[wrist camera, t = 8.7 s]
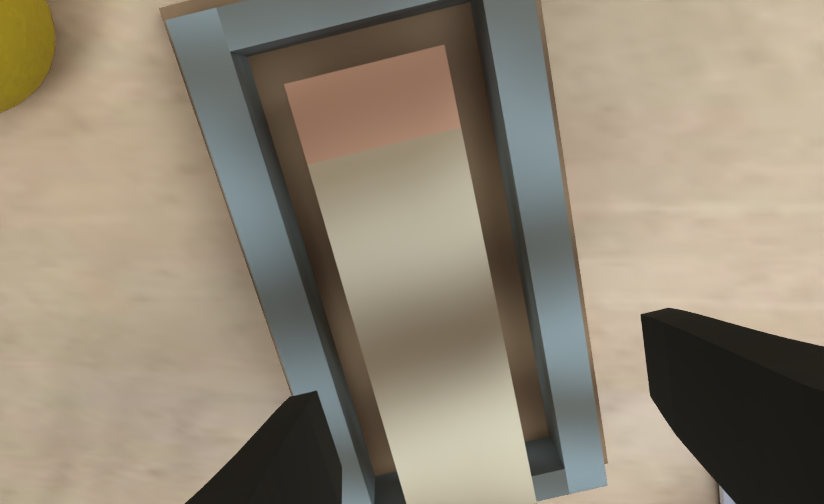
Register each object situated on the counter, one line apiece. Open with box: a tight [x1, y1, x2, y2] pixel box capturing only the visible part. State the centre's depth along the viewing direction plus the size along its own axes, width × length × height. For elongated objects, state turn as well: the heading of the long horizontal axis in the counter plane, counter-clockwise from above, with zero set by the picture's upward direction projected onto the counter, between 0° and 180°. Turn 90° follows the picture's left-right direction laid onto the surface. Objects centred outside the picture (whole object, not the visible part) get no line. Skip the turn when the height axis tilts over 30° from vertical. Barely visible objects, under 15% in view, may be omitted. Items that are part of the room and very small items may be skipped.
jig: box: [159, 0, 608, 504], centre depth 19 cm, size 21×12×3 cm, turn 13°
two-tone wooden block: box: [284, 45, 537, 504], centre depth 17 cm, size 14×4×5 cm, turn 13°
